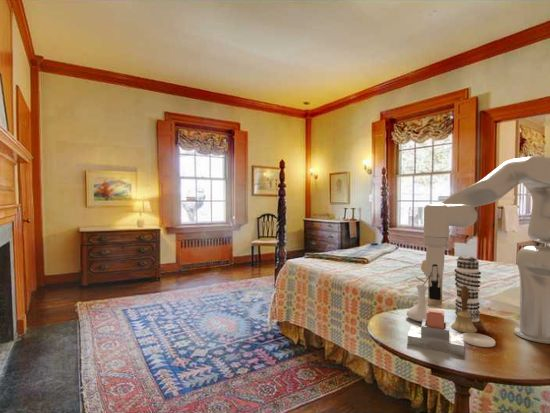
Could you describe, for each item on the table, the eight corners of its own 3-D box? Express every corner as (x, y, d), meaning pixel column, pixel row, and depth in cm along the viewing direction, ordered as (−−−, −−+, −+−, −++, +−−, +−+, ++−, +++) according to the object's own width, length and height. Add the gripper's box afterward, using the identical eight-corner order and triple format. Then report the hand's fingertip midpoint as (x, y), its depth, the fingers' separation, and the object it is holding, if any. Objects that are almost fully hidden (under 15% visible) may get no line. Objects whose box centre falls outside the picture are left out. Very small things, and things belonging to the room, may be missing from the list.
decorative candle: (474, 324, 125) (475, 259, 125) (450, 317, 133) (450, 256, 132) (484, 319, 131) (485, 257, 130) (460, 312, 138) (461, 254, 138)
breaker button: (444, 324, 108) (444, 310, 108) (443, 329, 104) (443, 315, 104) (427, 321, 111) (427, 308, 110) (426, 326, 106) (426, 312, 106)
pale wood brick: (442, 304, 108) (442, 274, 108) (441, 308, 104) (442, 277, 104) (428, 302, 110) (429, 273, 110) (427, 306, 106) (428, 275, 106)
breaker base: (462, 343, 108) (463, 323, 108) (463, 355, 99) (464, 334, 99) (410, 333, 115) (411, 315, 115) (407, 344, 107) (407, 324, 107)
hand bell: (477, 327, 122) (477, 284, 122) (476, 334, 115) (477, 289, 115) (451, 323, 126) (452, 282, 126) (450, 329, 119) (450, 286, 119)
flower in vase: (404, 321, 127) (405, 258, 127) (407, 313, 138) (408, 254, 137) (442, 327, 121) (442, 260, 121) (442, 318, 131) (442, 256, 131)
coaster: (486, 335, 114) (486, 333, 114) (501, 348, 104) (501, 345, 104) (455, 333, 116) (455, 331, 116) (468, 346, 106) (468, 343, 106)
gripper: (425, 239, 116) (424, 290, 116) (421, 243, 101) (420, 302, 101) (449, 240, 112) (448, 293, 113) (448, 245, 98) (447, 306, 98)
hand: (435, 296), depth 107 cm, fingers closed on pale wood brick, 4 cm apart
